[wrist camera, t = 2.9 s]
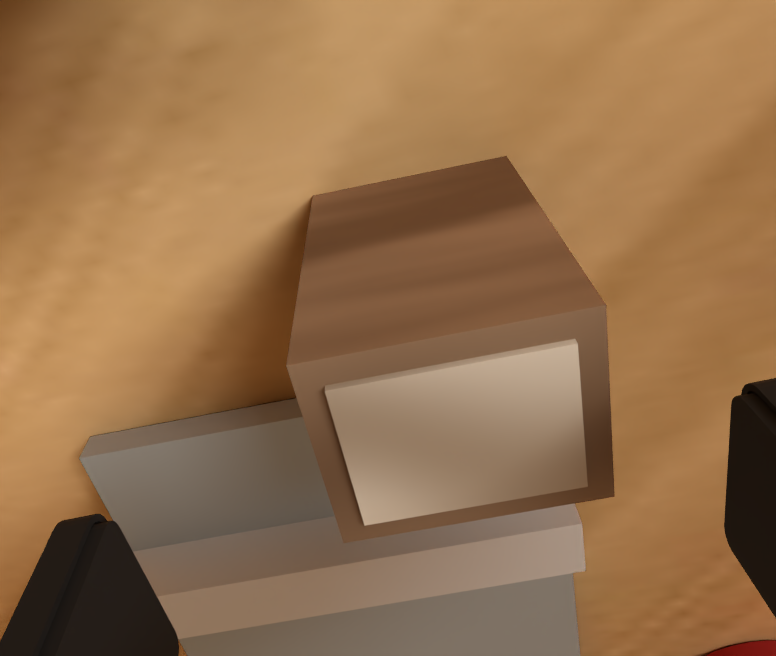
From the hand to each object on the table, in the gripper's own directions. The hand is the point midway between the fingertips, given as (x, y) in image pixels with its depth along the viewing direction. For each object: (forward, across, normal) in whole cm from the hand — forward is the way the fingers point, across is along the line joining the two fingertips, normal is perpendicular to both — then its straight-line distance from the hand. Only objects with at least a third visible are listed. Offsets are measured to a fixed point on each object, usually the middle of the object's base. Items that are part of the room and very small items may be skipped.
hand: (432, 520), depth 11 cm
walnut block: (+10, -1, 0) cm, 10 cm away
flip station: (+10, +3, +14) cm, 17 cm away
